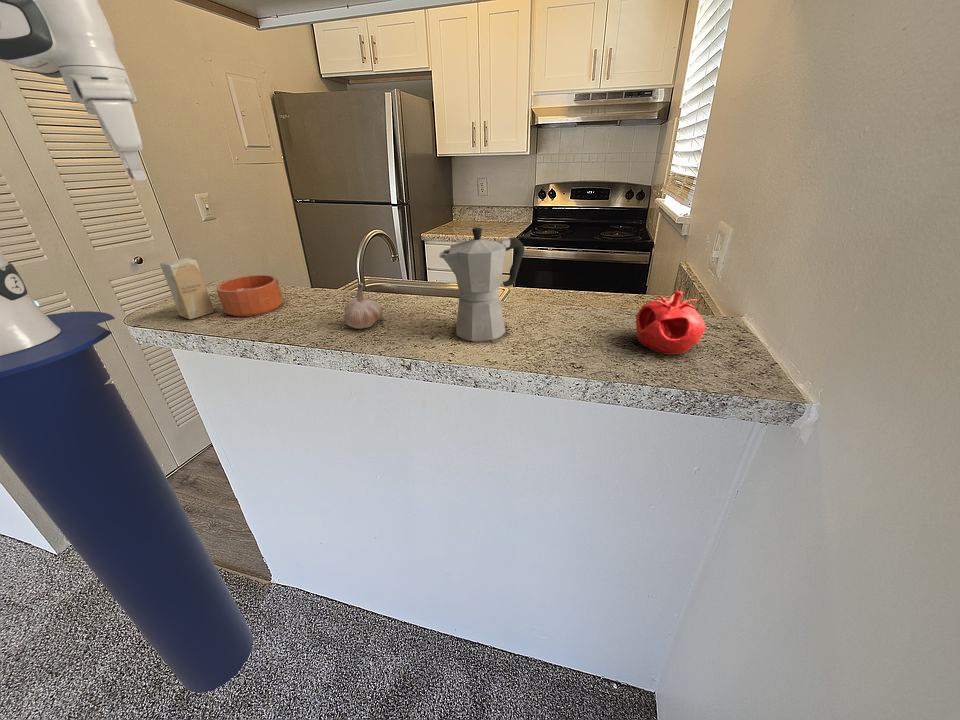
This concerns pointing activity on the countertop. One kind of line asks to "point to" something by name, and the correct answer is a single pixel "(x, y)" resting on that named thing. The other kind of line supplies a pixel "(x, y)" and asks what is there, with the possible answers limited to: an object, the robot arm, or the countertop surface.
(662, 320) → the pomegranate
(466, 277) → the coffeepot
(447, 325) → the countertop surface
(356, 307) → the garlic bulb
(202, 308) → the box
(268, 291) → the bowl
